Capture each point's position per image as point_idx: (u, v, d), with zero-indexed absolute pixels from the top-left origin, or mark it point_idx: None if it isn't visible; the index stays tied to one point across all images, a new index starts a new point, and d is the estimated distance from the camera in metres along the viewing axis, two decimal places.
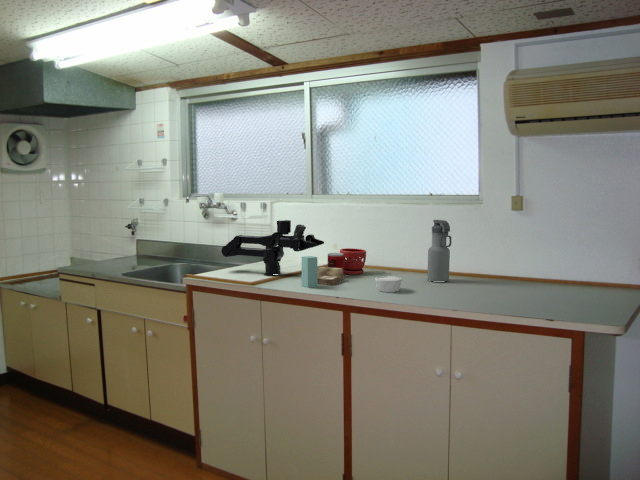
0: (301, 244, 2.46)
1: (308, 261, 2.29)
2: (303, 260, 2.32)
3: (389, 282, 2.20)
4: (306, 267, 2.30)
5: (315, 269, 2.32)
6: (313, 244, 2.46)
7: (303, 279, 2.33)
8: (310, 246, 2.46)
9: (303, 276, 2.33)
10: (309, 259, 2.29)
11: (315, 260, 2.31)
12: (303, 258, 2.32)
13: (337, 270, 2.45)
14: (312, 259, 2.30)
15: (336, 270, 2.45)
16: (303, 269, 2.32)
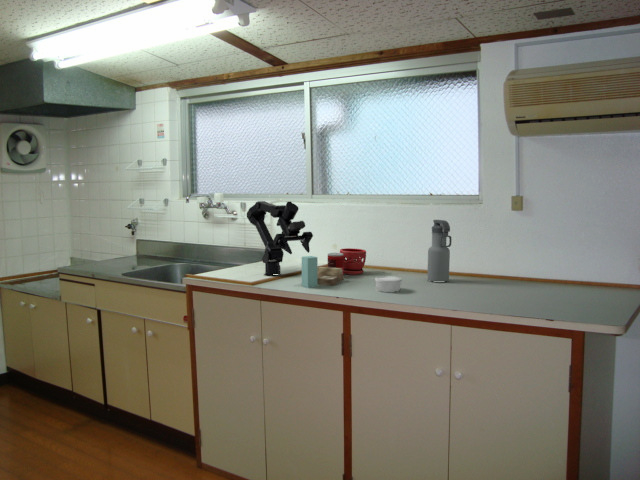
0: (281, 242, 2.38)
1: (308, 261, 2.29)
2: (303, 260, 2.32)
3: (389, 282, 2.20)
4: (306, 267, 2.30)
5: (315, 269, 2.32)
6: (289, 251, 2.37)
7: (303, 279, 2.33)
8: (286, 250, 2.38)
9: (303, 276, 2.33)
10: (309, 259, 2.29)
11: (315, 260, 2.31)
12: (303, 258, 2.32)
13: (337, 270, 2.45)
14: (312, 259, 2.30)
15: (336, 270, 2.45)
16: (303, 269, 2.32)
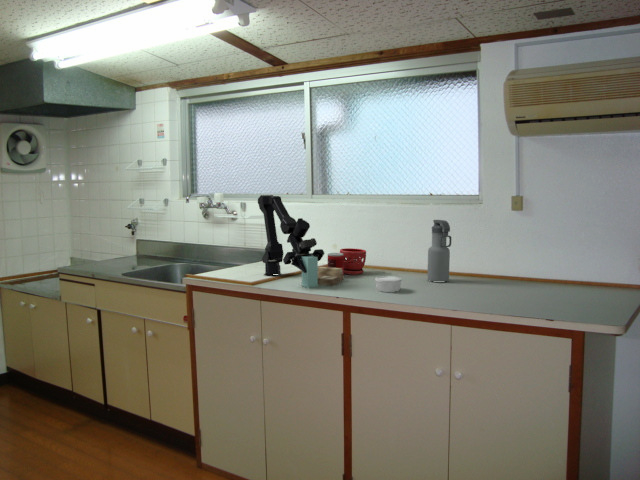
0: (295, 261, 2.32)
1: (308, 261, 2.29)
2: (304, 260, 2.32)
3: (389, 282, 2.20)
4: (306, 267, 2.30)
5: (315, 269, 2.32)
6: (303, 270, 2.31)
7: (303, 279, 2.33)
8: (301, 269, 2.32)
9: (303, 276, 2.33)
10: (309, 259, 2.29)
11: (315, 260, 2.31)
12: (303, 258, 2.32)
13: (337, 270, 2.45)
14: (312, 259, 2.30)
15: (336, 270, 2.45)
16: None
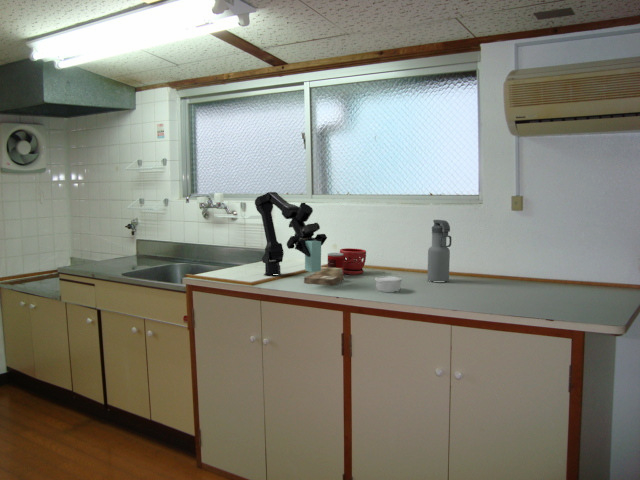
0: (299, 245, 2.32)
1: (312, 245, 2.30)
2: (307, 244, 2.32)
3: (389, 282, 2.20)
4: (310, 251, 2.30)
5: (319, 253, 2.32)
6: (307, 254, 2.31)
7: (306, 263, 2.33)
8: (304, 253, 2.32)
9: (307, 260, 2.33)
10: (313, 243, 2.30)
11: (319, 244, 2.32)
12: (307, 242, 2.32)
13: (337, 270, 2.45)
14: (316, 243, 2.31)
15: (336, 270, 2.45)
16: None
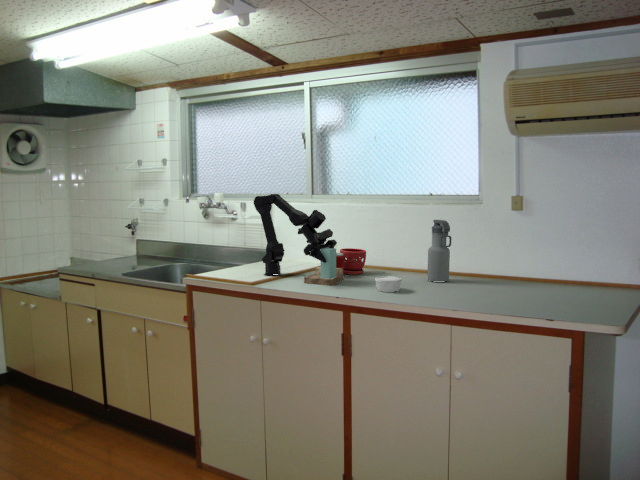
0: (314, 251, 2.36)
1: (330, 253, 2.36)
2: (324, 252, 2.38)
3: (389, 282, 2.20)
4: (327, 259, 2.37)
5: (334, 260, 2.40)
6: (323, 260, 2.36)
7: (323, 270, 2.39)
8: (320, 259, 2.37)
9: (323, 268, 2.39)
10: (330, 251, 2.37)
11: (334, 251, 2.39)
12: (323, 250, 2.38)
13: (337, 270, 2.45)
14: (332, 251, 2.38)
15: (336, 270, 2.45)
16: None
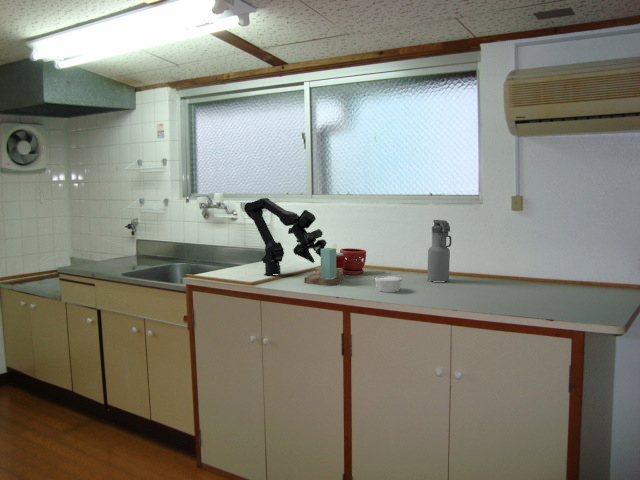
0: (302, 251, 2.39)
1: (330, 253, 2.36)
2: (324, 252, 2.38)
3: (389, 282, 2.20)
4: (327, 259, 2.37)
5: (334, 260, 2.40)
6: (311, 260, 2.39)
7: (323, 270, 2.39)
8: (308, 259, 2.40)
9: (323, 268, 2.39)
10: (330, 251, 2.37)
11: (334, 251, 2.39)
12: (323, 250, 2.38)
13: (337, 270, 2.45)
14: (332, 251, 2.38)
15: (336, 270, 2.45)
16: (323, 261, 2.39)
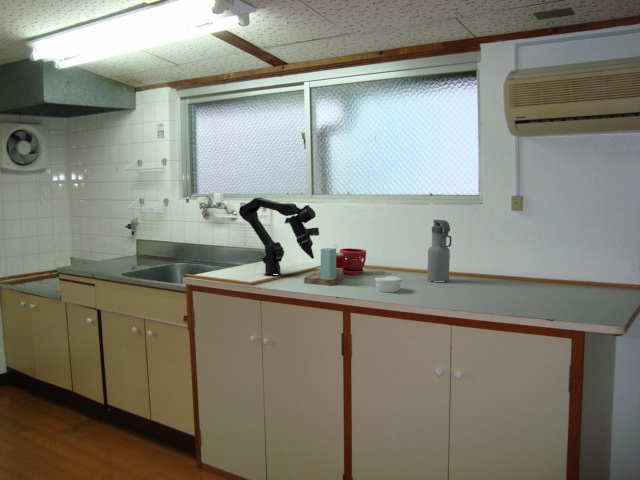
0: (305, 243, 2.43)
1: (330, 253, 2.36)
2: (324, 252, 2.38)
3: (389, 282, 2.20)
4: (327, 259, 2.37)
5: (334, 260, 2.40)
6: (310, 253, 2.44)
7: (323, 270, 2.39)
8: (307, 251, 2.44)
9: (323, 268, 2.39)
10: (330, 251, 2.37)
11: (334, 251, 2.39)
12: (323, 250, 2.38)
13: (337, 270, 2.45)
14: (332, 251, 2.38)
15: (336, 270, 2.45)
16: (323, 261, 2.39)
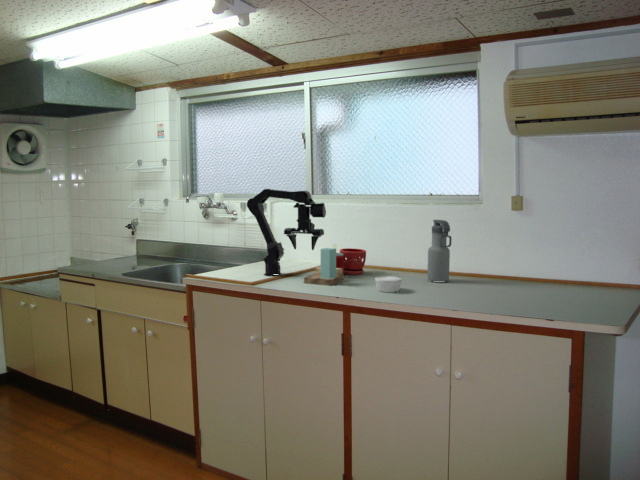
0: (317, 236, 2.53)
1: (330, 253, 2.36)
2: (324, 252, 2.38)
3: (389, 282, 2.20)
4: (327, 259, 2.37)
5: (334, 260, 2.40)
6: (313, 247, 2.54)
7: (323, 270, 2.39)
8: (313, 245, 2.53)
9: (323, 268, 2.39)
10: (330, 251, 2.37)
11: (334, 251, 2.39)
12: (323, 250, 2.38)
13: (337, 270, 2.45)
14: (332, 251, 2.38)
15: (336, 270, 2.45)
16: (323, 261, 2.39)
